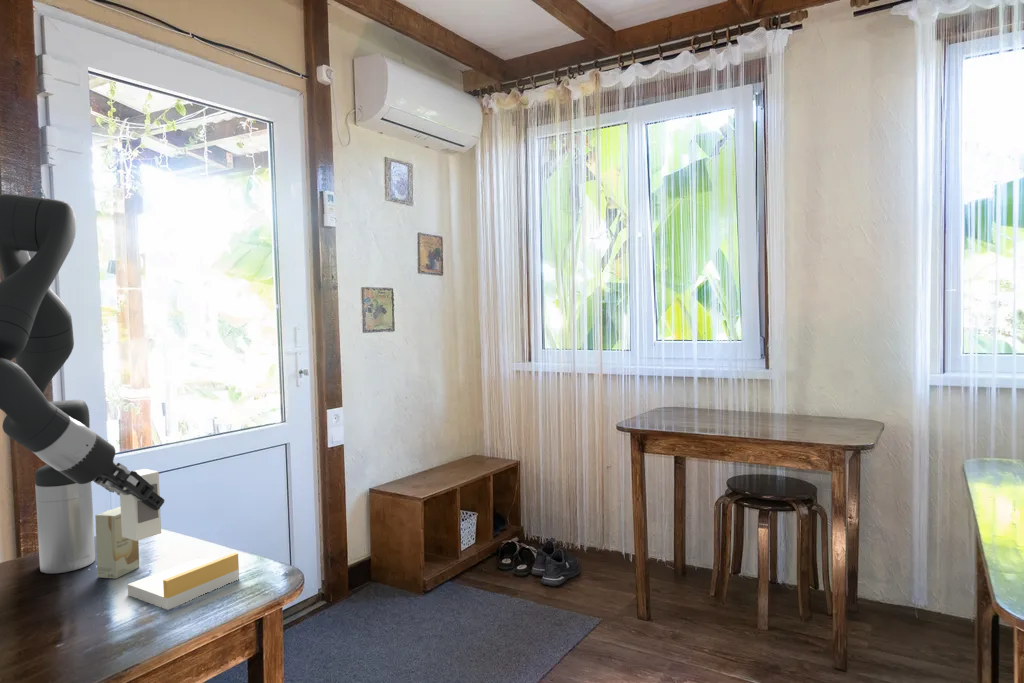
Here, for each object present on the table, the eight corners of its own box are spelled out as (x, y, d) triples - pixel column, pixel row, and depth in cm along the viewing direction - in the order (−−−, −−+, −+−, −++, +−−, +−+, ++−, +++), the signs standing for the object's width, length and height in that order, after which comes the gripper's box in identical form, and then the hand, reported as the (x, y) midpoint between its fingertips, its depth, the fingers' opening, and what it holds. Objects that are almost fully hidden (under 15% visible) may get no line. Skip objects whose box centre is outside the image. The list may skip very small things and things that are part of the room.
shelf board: (128, 595, 117) (126, 567, 117) (199, 567, 129) (198, 542, 129) (167, 610, 111) (166, 581, 111) (239, 579, 123) (238, 553, 123)
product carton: (121, 536, 114) (118, 474, 113) (147, 529, 117) (144, 468, 117) (136, 541, 111) (134, 477, 111) (162, 533, 115) (159, 471, 114)
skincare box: (115, 579, 124) (112, 516, 123) (96, 578, 125) (93, 515, 124) (141, 566, 130) (138, 506, 130) (122, 565, 131) (119, 505, 130)
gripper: (114, 434, 103) (189, 490, 114) (68, 426, 110) (143, 479, 121) (79, 475, 99) (161, 529, 110) (34, 464, 106) (115, 515, 117)
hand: (151, 503), depth 116 cm, fingers closed on product carton, 4 cm apart
